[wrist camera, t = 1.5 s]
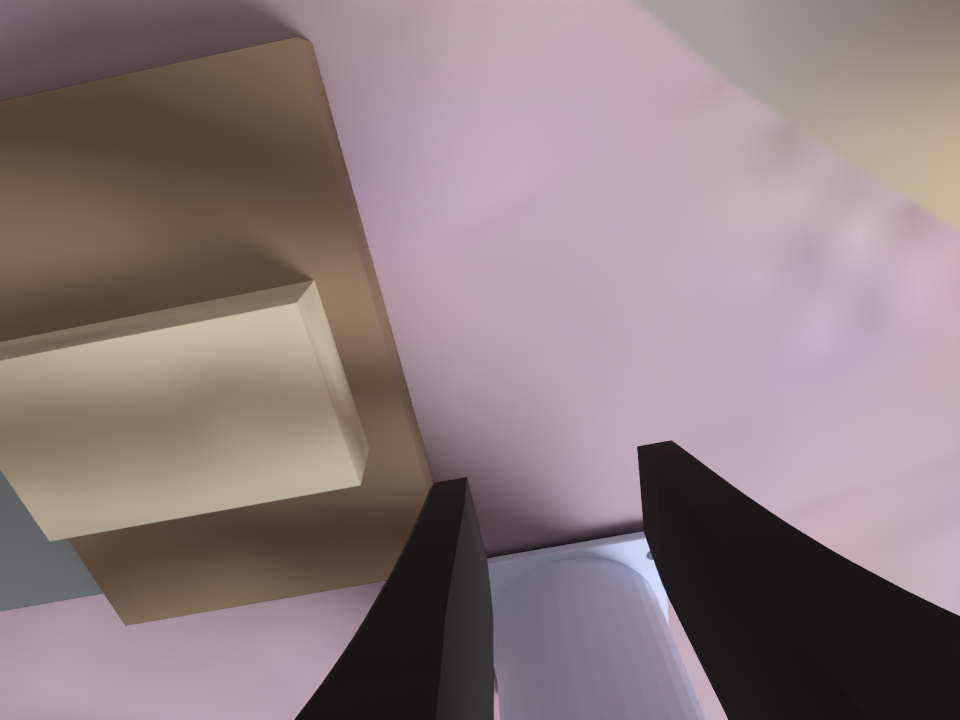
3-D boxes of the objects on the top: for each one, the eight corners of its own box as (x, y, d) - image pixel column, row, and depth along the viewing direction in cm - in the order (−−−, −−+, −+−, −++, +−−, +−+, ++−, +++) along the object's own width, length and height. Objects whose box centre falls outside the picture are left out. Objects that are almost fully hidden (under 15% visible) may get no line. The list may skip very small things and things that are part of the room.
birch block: (369, 448, 19) (360, 485, 17) (87, 499, 19) (49, 541, 17) (314, 280, 16) (296, 303, 14) (-10, 343, 17) (-66, 373, 15)
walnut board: (450, 541, 23) (449, 569, 21) (144, 594, 23) (125, 625, 22) (311, 42, 15) (296, 36, 14) (-140, 139, 16) (-197, 143, 14)
